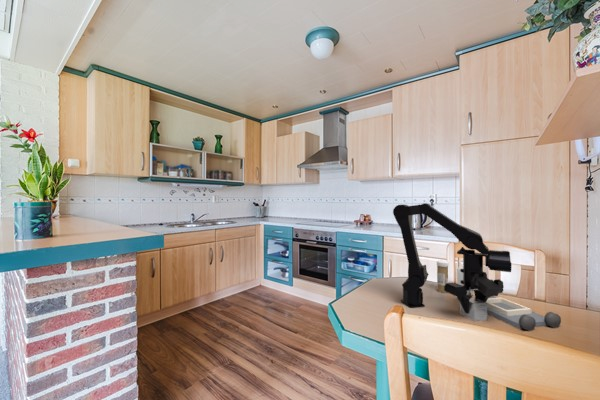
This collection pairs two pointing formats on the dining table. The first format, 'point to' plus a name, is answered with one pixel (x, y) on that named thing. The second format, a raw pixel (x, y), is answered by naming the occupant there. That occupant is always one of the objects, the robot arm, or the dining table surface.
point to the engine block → (475, 310)
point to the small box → (461, 277)
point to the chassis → (519, 314)
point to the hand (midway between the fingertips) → (473, 312)
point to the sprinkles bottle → (442, 275)
